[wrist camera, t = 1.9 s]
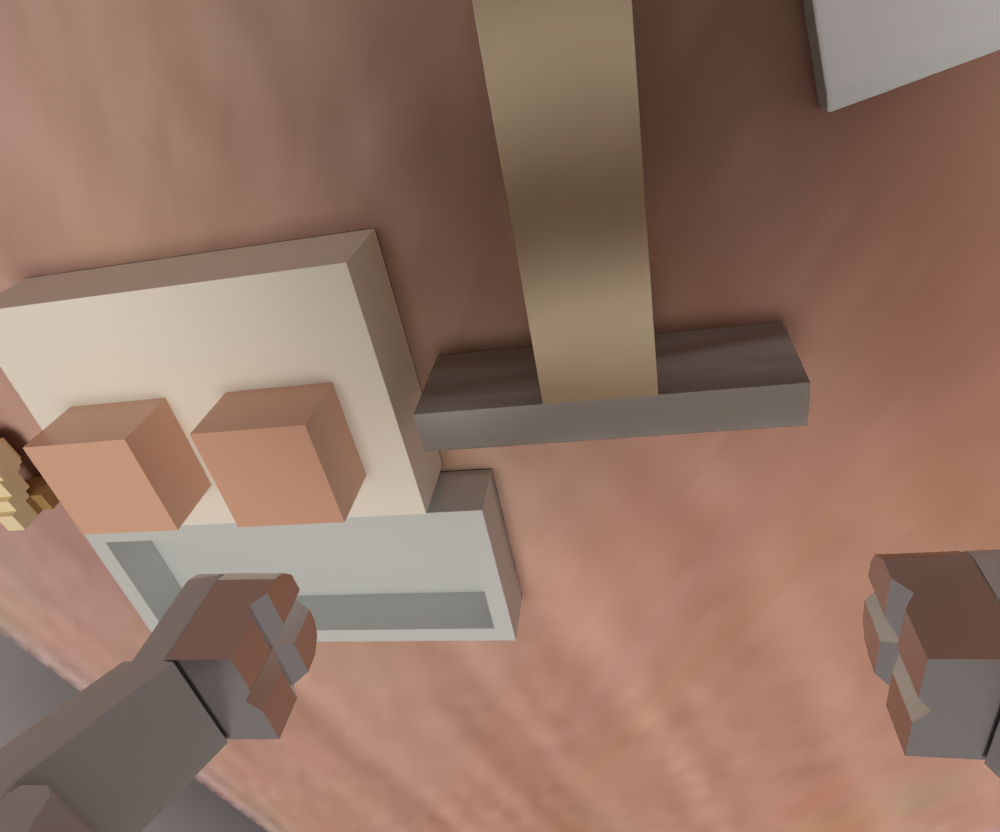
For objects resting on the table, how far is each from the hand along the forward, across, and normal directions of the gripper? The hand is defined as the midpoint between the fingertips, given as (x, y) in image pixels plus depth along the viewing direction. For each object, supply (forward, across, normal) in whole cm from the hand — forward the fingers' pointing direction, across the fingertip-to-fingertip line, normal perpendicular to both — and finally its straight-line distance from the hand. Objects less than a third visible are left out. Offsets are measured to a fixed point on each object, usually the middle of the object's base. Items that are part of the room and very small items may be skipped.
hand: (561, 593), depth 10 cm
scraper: (+15, 0, -2) cm, 15 cm away
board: (+15, +14, +4) cm, 21 cm away
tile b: (+12, +11, +5) cm, 17 cm away
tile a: (+12, +17, +5) cm, 21 cm away
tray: (+15, +14, +13) cm, 24 cm away
